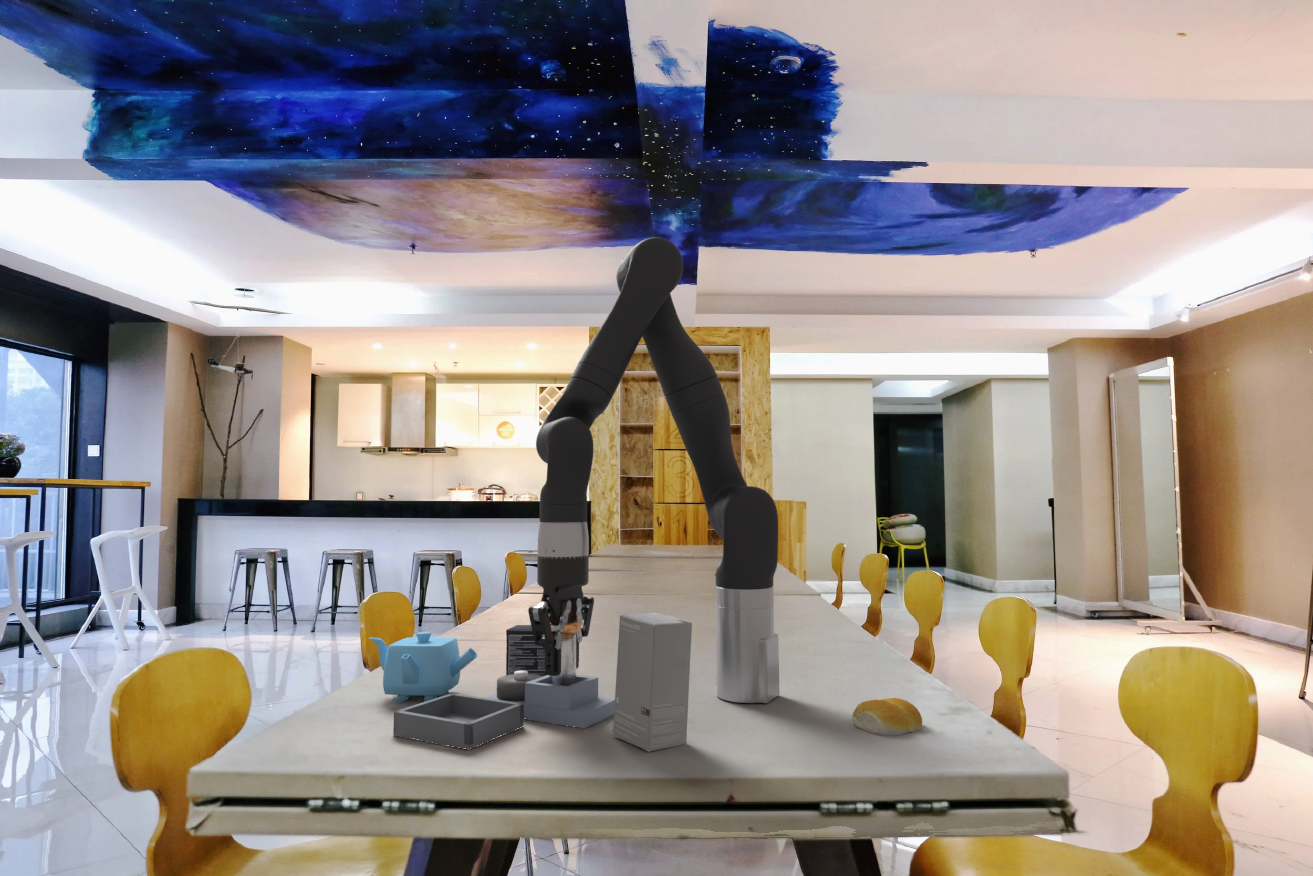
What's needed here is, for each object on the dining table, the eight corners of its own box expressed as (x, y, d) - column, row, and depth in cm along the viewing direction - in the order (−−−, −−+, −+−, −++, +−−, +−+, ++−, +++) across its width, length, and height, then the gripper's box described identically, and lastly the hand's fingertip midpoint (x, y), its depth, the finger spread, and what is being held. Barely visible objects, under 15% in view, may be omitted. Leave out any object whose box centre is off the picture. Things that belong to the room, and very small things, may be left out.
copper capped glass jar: (586, 699, 109) (587, 621, 110) (566, 707, 104) (567, 626, 105) (557, 695, 111) (558, 619, 112) (536, 703, 107) (537, 624, 108)
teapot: (488, 688, 124) (489, 626, 125) (458, 711, 110) (459, 642, 111) (384, 686, 125) (386, 625, 126) (342, 708, 112) (344, 640, 112)
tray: (523, 727, 102) (523, 703, 102) (468, 750, 92) (469, 724, 93) (451, 714, 108) (452, 693, 108) (393, 735, 98) (393, 711, 99)
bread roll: (933, 729, 101) (932, 699, 101) (890, 741, 96) (889, 709, 96) (884, 715, 108) (884, 687, 108) (841, 725, 103) (841, 695, 103)
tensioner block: (614, 714, 108) (614, 676, 108) (584, 729, 101) (584, 688, 101) (516, 699, 116) (516, 664, 117) (481, 712, 109) (482, 674, 110)
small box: (577, 687, 124) (577, 623, 125) (569, 697, 118) (569, 630, 119) (515, 686, 125) (516, 623, 126) (504, 696, 119) (505, 629, 120)
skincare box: (611, 737, 97) (611, 614, 99) (655, 727, 102) (655, 610, 103) (649, 754, 91) (648, 622, 92) (694, 743, 95) (693, 617, 96)
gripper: (556, 557, 102) (555, 685, 100) (609, 551, 114) (609, 665, 113) (512, 555, 105) (510, 679, 103) (569, 549, 118) (568, 660, 116)
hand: (562, 671), depth 108 cm, fingers closed on copper capped glass jar, 4 cm apart
